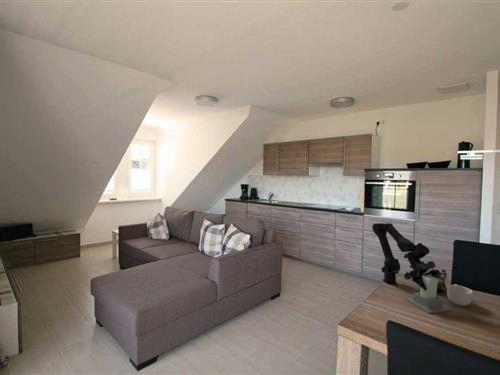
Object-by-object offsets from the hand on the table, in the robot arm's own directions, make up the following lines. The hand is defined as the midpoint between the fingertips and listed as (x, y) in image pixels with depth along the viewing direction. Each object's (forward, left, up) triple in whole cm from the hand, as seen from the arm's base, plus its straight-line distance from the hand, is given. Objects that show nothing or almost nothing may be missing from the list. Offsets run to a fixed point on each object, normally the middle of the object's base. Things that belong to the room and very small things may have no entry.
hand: (430, 290), depth 138 cm
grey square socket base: (-1, 0, -9) cm, 9 cm away
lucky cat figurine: (-18, +22, -9) cm, 30 cm away
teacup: (0, +20, -9) cm, 22 cm away
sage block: (-1, 0, -7) cm, 7 cm away
